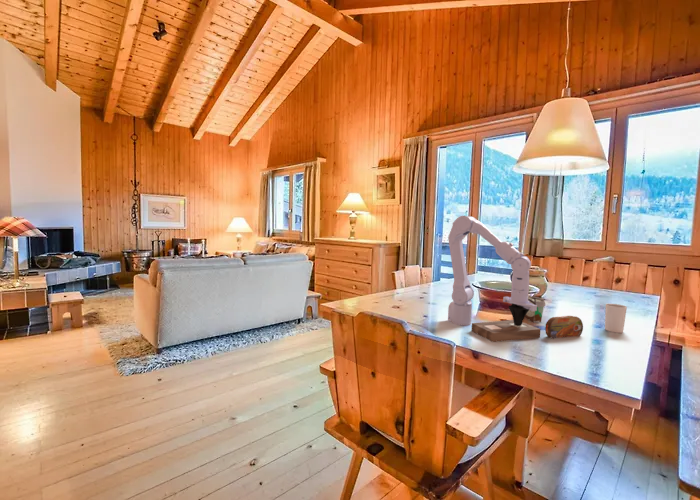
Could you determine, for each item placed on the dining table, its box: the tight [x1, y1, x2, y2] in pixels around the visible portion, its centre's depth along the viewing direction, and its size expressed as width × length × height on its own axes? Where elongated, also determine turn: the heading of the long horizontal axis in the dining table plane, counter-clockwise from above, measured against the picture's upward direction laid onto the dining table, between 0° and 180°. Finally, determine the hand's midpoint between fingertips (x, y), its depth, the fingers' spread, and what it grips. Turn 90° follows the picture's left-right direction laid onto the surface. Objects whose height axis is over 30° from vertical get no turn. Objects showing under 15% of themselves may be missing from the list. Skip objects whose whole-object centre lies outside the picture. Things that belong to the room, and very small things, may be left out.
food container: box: [524, 295, 546, 324], centre depth 147 cm, size 12×6×10 cm, turn 179°
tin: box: [544, 315, 584, 340], centre depth 126 cm, size 15×3×8 cm, turn 105°
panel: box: [471, 319, 542, 343], centre depth 128 cm, size 12×20×4 cm, turn 106°
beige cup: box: [604, 303, 628, 334], centre depth 137 cm, size 7×7×10 cm
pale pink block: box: [484, 325, 502, 330], centre depth 126 cm, size 4×4×3 cm
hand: (517, 325), depth 129 cm, fingers closed, pressing on key back
